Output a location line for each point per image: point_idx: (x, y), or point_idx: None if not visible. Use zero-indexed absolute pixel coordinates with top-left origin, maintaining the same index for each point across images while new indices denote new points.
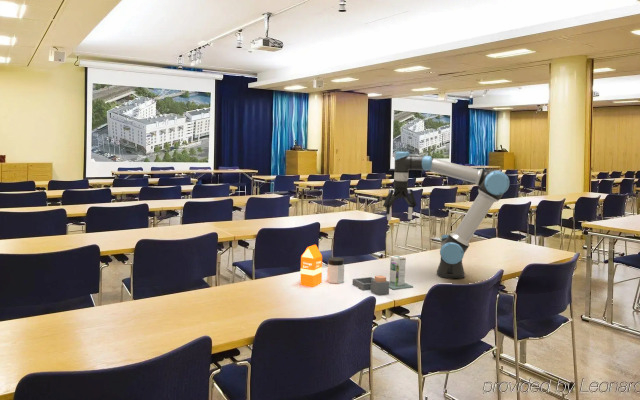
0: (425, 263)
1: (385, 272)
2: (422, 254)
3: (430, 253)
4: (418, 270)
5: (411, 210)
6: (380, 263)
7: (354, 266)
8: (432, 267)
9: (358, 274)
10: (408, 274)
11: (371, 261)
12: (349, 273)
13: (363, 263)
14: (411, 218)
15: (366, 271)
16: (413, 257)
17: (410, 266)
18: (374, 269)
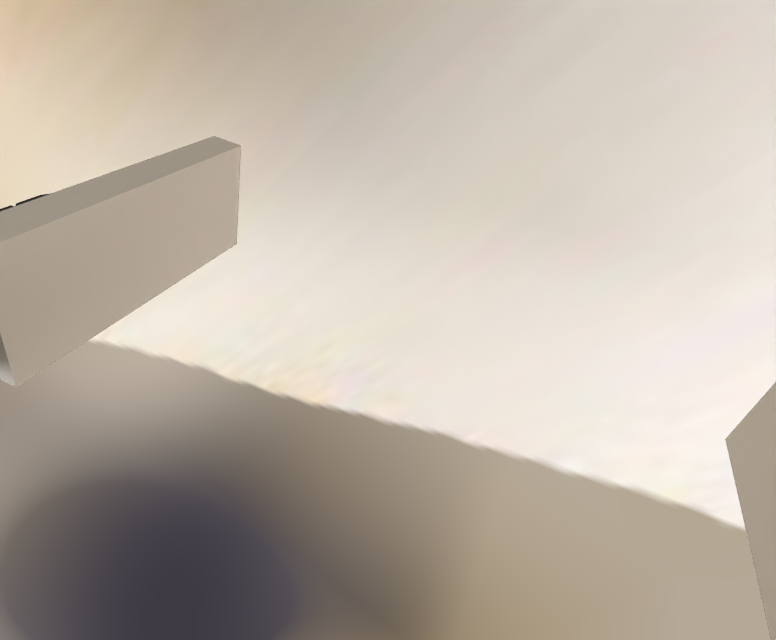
0: None
1: (527, 228)
2: None
3: None
4: (309, 119)
5: (61, 211)
6: (380, 363)
7: (553, 425)
8: (189, 113)
9: (723, 316)
10: (444, 89)
11: (388, 413)
12: (743, 369)
13: (456, 422)
14: (213, 147)
15: (604, 323)
16: (155, 314)
17: (285, 215)
18: (519, 316)
